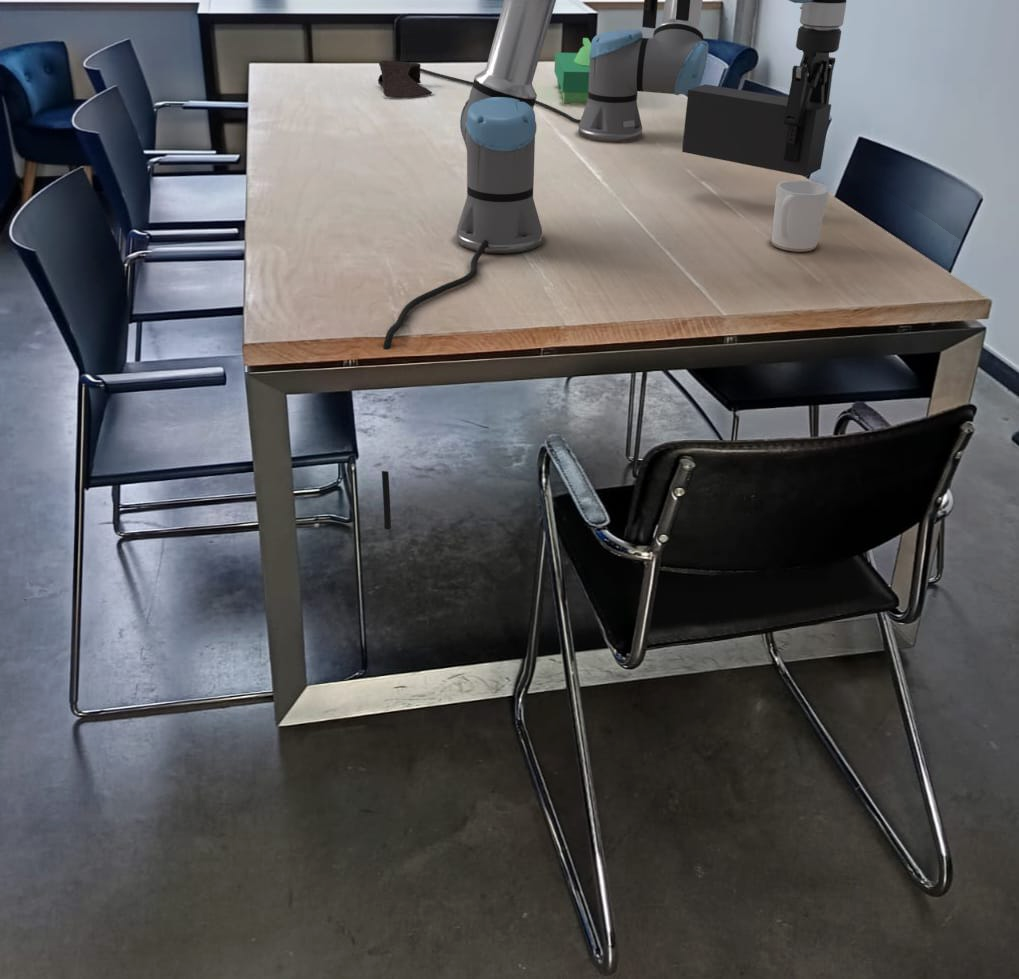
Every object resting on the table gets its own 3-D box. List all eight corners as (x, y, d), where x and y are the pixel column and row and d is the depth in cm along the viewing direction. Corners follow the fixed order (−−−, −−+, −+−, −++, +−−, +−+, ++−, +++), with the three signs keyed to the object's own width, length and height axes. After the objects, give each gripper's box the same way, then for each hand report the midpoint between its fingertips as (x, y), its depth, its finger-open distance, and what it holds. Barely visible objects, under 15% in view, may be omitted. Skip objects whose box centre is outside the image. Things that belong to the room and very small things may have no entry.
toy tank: (615, 34, 312) (632, 57, 283) (611, 79, 319) (628, 107, 289) (553, 33, 311) (564, 56, 282) (551, 78, 318) (562, 105, 288)
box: (820, 169, 209) (831, 104, 203) (805, 176, 204) (816, 110, 198) (698, 145, 222) (705, 84, 216) (681, 152, 217) (688, 89, 211)
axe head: (443, 87, 294) (392, 77, 287) (436, 115, 299) (385, 106, 292) (421, 62, 307) (371, 52, 300) (414, 89, 311) (365, 80, 304)
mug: (783, 233, 202) (791, 177, 197) (827, 243, 197) (837, 187, 192) (754, 247, 195) (762, 190, 189) (799, 259, 190) (809, 200, 185)
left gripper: (823, 18, 203) (803, 143, 215) (776, 30, 190) (758, 163, 202) (861, 22, 200) (839, 150, 212) (817, 35, 186) (796, 171, 198)
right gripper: (690, -96, 226) (679, 15, 237) (626, -91, 209) (618, 28, 220) (722, -94, 222) (710, 19, 233) (660, -88, 205) (650, 33, 216)
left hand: (799, 156), depth 207 cm, fingers closed on box, 7 cm apart
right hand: (665, 24), depth 227 cm, fingers open, 13 cm apart
